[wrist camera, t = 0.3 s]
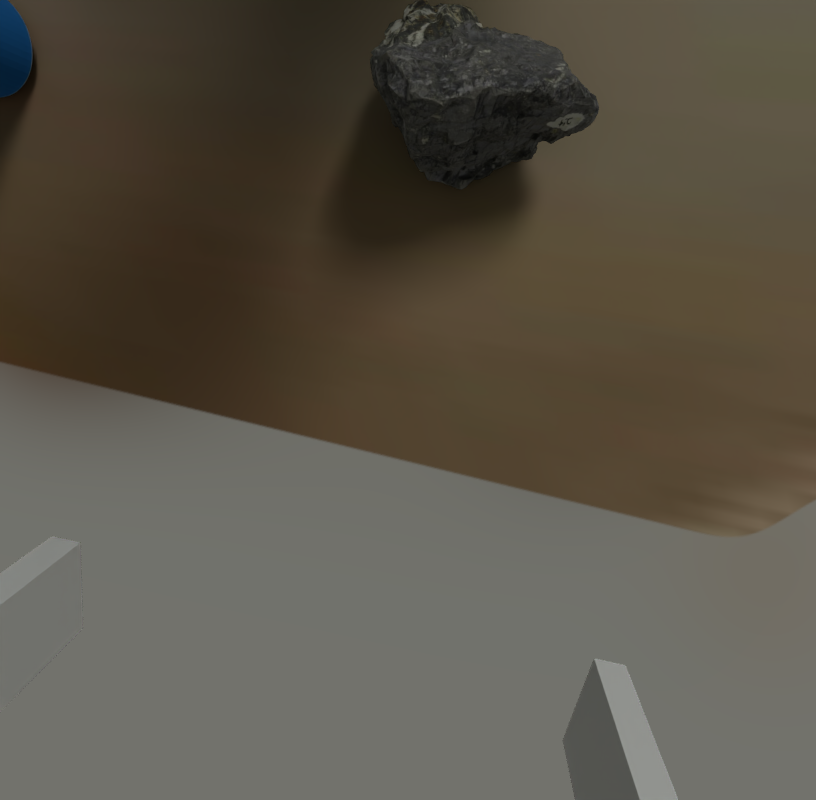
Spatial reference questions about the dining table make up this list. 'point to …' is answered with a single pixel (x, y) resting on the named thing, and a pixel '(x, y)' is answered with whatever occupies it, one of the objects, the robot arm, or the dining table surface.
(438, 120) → the rock
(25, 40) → the beverage can
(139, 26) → the dining table surface
